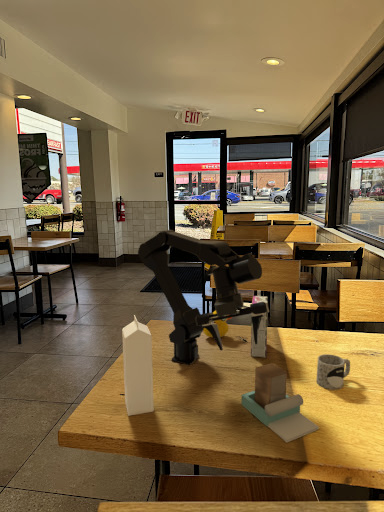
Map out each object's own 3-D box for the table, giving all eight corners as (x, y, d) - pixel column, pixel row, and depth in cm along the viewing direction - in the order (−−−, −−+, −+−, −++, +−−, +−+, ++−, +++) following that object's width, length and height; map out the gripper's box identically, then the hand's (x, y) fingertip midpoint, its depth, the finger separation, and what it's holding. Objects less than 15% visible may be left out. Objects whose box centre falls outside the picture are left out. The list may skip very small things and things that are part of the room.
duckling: (230, 332, 133) (230, 305, 131) (236, 337, 128) (236, 310, 126) (200, 335, 130) (200, 308, 128) (205, 341, 125) (205, 313, 123)
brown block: (254, 406, 87) (255, 367, 86) (271, 401, 90) (272, 362, 88) (268, 418, 83) (269, 377, 81) (285, 412, 85) (287, 371, 83)
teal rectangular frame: (241, 404, 88) (241, 385, 87) (272, 394, 93) (273, 376, 92) (285, 443, 75) (286, 421, 74) (319, 428, 79) (321, 408, 78)
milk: (128, 416, 84) (123, 324, 80) (125, 401, 90) (120, 315, 86) (154, 411, 86) (151, 321, 82) (149, 397, 91) (146, 312, 87)
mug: (329, 392, 93) (330, 367, 92) (311, 380, 99) (312, 357, 98) (358, 383, 97) (360, 360, 96) (339, 372, 103) (340, 350, 102)
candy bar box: (251, 342, 124) (252, 295, 121) (266, 343, 123) (268, 296, 120) (249, 357, 113) (251, 305, 110) (266, 358, 112) (268, 306, 109)
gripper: (184, 293, 92) (195, 357, 89) (257, 277, 88) (272, 343, 85) (196, 295, 103) (207, 352, 100) (262, 281, 98) (275, 340, 95)
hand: (238, 347), depth 94 cm, fingers open, 9 cm apart
